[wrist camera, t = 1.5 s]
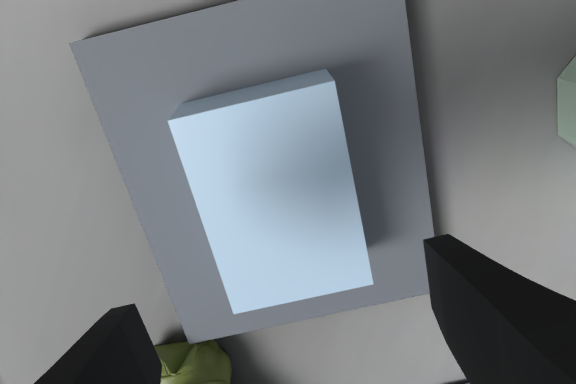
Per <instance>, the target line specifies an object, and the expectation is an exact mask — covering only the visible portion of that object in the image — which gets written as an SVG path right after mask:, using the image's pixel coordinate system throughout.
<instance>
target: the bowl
mask: <svg viewBox="0 0 576 384" xmlns="http://www.w3.org/2000/svg"><path fill="white" fill-rule="evenodd" d="M557 122H558V136H559V137H561V138H562V139H563V140H565V141H566V142H568V143H569V144H571V145H572V146H573V147H575V148H576V56H575V57H574V58H573V59H572V60H571V62H570V63H569V64H568V65H567V67H566V68H565V69H564V70H563V71H562V73H561V74H560V75H559V76H558V78H557Z"/></svg>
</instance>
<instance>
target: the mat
mask: <svg viewBox="0 0 576 384" xmlns="http://www.w3.org/2000/svg"><path fill="white" fill-rule="evenodd" d="M69 45H70V47H71V50H72V52H73V55H74V57H75V60H76V62H77V65H78V67H79V70H80V72H81V75H82V77H83V80H84V82H85V85H86V87H87V90H88V92H89V95H90V97H91V100H92V102H93V105H94V107H95V110H96V112H97V115H98V117H99V120H100V122H101V125H102V127H103V130H104V132H105V135H106V137H107V140H108V142H109V145H110V147H111V150H112V152H113V155H114V157H115V160H116V162H117V165H118V167H119V170H120V172H121V175H122V177H123V180H124V182H125V185H126V187H127V190H128V192H129V195H130V197H131V200H132V202H133V205H134V207H135V210H136V212H137V215H138V217H139V220H140V222H141V225H142V227H143V230H144V232H145V235H146V237H147V240H148V242H149V245H150V247H151V250H152V252H153V255H154V257H155V260H156V262H157V265H158V267H159V270H160V272H161V275H162V277H163V280H164V282H165V285H166V287H167V290H168V292H169V295H170V297H171V300H172V302H173V305H174V307H175V310H176V312H177V315H178V317H179V320H180V323H181V325H182V328H183V330H184V333H185V335H186V338H187V340H188V343H189V344H193V343H197V342H202V341H207V340H212V339H216V338H221V337H226V336H230V335H235V334H240V333H245V332H249V331H254V330H259V329H263V328H268V327H273V326H278V325H282V324H287V323H292V322H297V321H301V320H306V319H311V318H315V317H320V316H325V315H330V314H334V313H339V312H344V311H349V310H353V309H358V308H363V307H367V306H372V305H377V304H382V303H386V302H391V301H396V300H400V299H405V298H410V297H415V296H419V295H424V294H429V293H430V291H429V283H428V275H427V268H426V260H425V252H424V244H423V239H428V238H432V237H434V229H433V221H432V213H431V205H430V197H429V189H428V181H427V173H426V165H425V157H424V149H423V141H422V133H421V125H420V117H419V109H418V101H417V93H416V85H415V77H414V69H413V61H412V53H411V45H410V37H409V28H408V20H407V12H406V4H405V0H238V1H234V2H230V3H226V4H222V5H218V6H214V7H210V8H206V9H202V10H198V11H194V12H190V13H186V14H182V15H179V16H175V17H171V18H167V19H163V20H159V21H155V22H151V23H147V24H143V25H139V26H135V27H131V28H127V29H123V30H119V31H115V32H111V33H107V34H103V35H100V36H96V37H92V38H88V39H84V40H80V41H76V42H72V43H69ZM322 69H327V71H328V72H329V74H330V75H331V76H332V78H333V79H334V80H335V85H336V90H337V96H338V101H339V106H340V111H341V116H342V122H343V127H344V132H345V137H346V143H347V148H348V153H349V158H350V164H351V169H352V174H353V179H354V184H355V190H356V195H357V200H358V205H359V211H360V216H361V221H362V226H363V232H364V237H365V242H366V247H367V252H368V258H369V263H370V268H371V273H372V279H373V285H368V286H363V287H359V288H354V289H349V290H345V291H340V292H335V293H331V294H326V295H321V296H317V297H312V298H307V299H303V300H298V301H293V302H289V303H284V304H279V305H275V306H270V307H265V308H261V309H256V310H251V311H247V312H242V313H237V314H233V311H232V308H231V305H230V302H229V299H228V296H227V294H226V291H225V288H224V285H223V282H222V279H221V276H220V273H219V270H218V267H217V264H216V261H215V258H214V255H213V253H212V250H211V247H210V244H209V241H208V238H207V235H206V232H205V229H204V226H203V223H202V220H201V217H200V214H199V212H198V209H197V206H196V203H195V200H194V197H193V194H192V191H191V188H190V185H189V182H188V179H187V176H186V173H185V170H184V168H183V165H182V162H181V159H180V156H179V153H178V150H177V147H176V144H175V141H174V138H173V135H172V132H171V129H170V127H169V124H168V120H169V118H170V117H171V116H172V115H173V113H174V112H175V111H176V109H177V108H178V107H179V106H180V104H181V103H185V102H189V101H194V100H198V99H202V98H206V97H210V96H214V95H218V94H223V93H227V92H231V91H235V90H239V89H243V88H247V87H251V86H256V85H260V84H264V83H268V82H272V81H276V80H280V79H284V78H289V77H293V76H297V75H301V74H305V73H309V72H313V71H318V70H322Z"/></svg>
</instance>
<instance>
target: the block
mask: <svg viewBox="0 0 576 384" xmlns="http://www.w3.org/2000/svg"><path fill="white" fill-rule="evenodd" d="M168 124H169V127H170V129H171V132H172V135H173V138H174V141H175V144H176V147H177V150H178V153H179V156H180V159H181V162H182V165H183V168H184V170H185V173H186V176H187V179H188V182H189V185H190V188H191V191H192V194H193V197H194V200H195V203H196V206H197V209H198V212H199V214H200V217H201V220H202V223H203V226H204V229H205V232H206V235H207V238H208V241H209V244H210V247H211V250H212V253H213V255H214V258H215V261H216V264H217V267H218V270H219V273H220V276H221V279H222V282H223V285H224V288H225V291H226V294H227V296H228V299H229V302H230V305H231V308H232V311H233V314H237V313H242V312H247V311H251V310H256V309H261V308H265V307H270V306H275V305H279V304H284V303H289V302H293V301H298V300H303V299H307V298H312V297H317V296H321V295H326V294H331V293H335V292H340V291H345V290H349V289H354V288H359V287H363V286H368V285H373V279H372V273H371V268H370V263H369V258H368V252H367V247H366V242H365V237H364V232H363V226H362V221H361V216H360V211H359V205H358V200H357V195H356V190H355V184H354V179H353V174H352V169H351V164H350V158H349V153H348V148H347V143H346V137H345V132H344V127H343V122H342V116H341V111H340V106H339V101H338V96H337V90H336V85H335V80H334V79H333V78H332V76H331V75H330V74H329V72H328V71H327V69H322V70H318V71H313V72H309V73H305V74H301V75H297V76H293V77H289V78H284V79H280V80H276V81H272V82H268V83H264V84H260V85H256V86H251V87H247V88H243V89H239V90H235V91H231V92H227V93H223V94H218V95H214V96H210V97H206V98H202V99H198V100H194V101H189V102H185V103H181V104H180V106H179V107H178V108H177V109H176V111H175V112H174V113H173V115H172V116H171V117H170V118H169V120H168Z"/></svg>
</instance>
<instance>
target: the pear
mask: <svg viewBox="0 0 576 384" xmlns="http://www.w3.org/2000/svg"><path fill="white" fill-rule="evenodd" d="M154 348H155V350H156V352H157V355H158V357H159V359H160V361H161V363H162V373H161V384H230V381H231V372H232V368H231V362H230V359H229V357H228V355H227V354H226V353H225V352H223V351H222V350H221V349H220V347H219V346H218V343H217V341H216V340H207V341H202V342H197V343H193V344H189V343H188V341H186V342H178V343H171V344H165V345H159V346H154Z"/></svg>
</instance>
